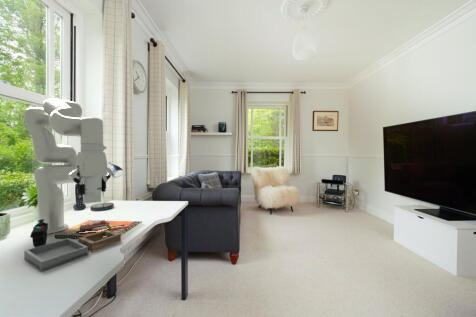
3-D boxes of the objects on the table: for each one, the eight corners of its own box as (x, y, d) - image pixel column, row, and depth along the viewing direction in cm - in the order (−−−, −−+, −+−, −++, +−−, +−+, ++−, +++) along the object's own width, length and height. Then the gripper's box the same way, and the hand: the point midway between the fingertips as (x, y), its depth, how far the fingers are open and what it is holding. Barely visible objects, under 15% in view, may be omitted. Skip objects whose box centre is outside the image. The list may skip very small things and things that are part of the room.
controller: (49, 240, 90) (49, 217, 90) (44, 251, 80) (44, 225, 80) (35, 243, 88) (35, 219, 88) (29, 254, 78) (28, 227, 78)
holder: (78, 245, 86) (78, 238, 86) (106, 236, 95) (106, 229, 95) (92, 251, 80) (91, 243, 80) (120, 241, 89) (120, 234, 89)
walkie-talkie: (76, 237, 95) (126, 228, 106) (75, 227, 95) (125, 219, 106) (77, 231, 102) (123, 223, 114) (77, 222, 102) (123, 215, 114)
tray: (24, 258, 74) (24, 250, 74) (68, 245, 86) (68, 237, 86) (41, 271, 66) (41, 262, 66) (88, 254, 77) (88, 246, 77)
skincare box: (83, 204, 82) (82, 172, 81) (83, 201, 85) (83, 172, 85) (102, 202, 85) (101, 172, 85) (101, 200, 89) (101, 171, 89)
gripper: (109, 149, 94) (109, 189, 95) (61, 148, 79) (62, 195, 80) (119, 149, 91) (119, 190, 91) (71, 148, 75) (71, 197, 76)
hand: (92, 192), depth 85 cm, fingers closed on skincare box, 7 cm apart
